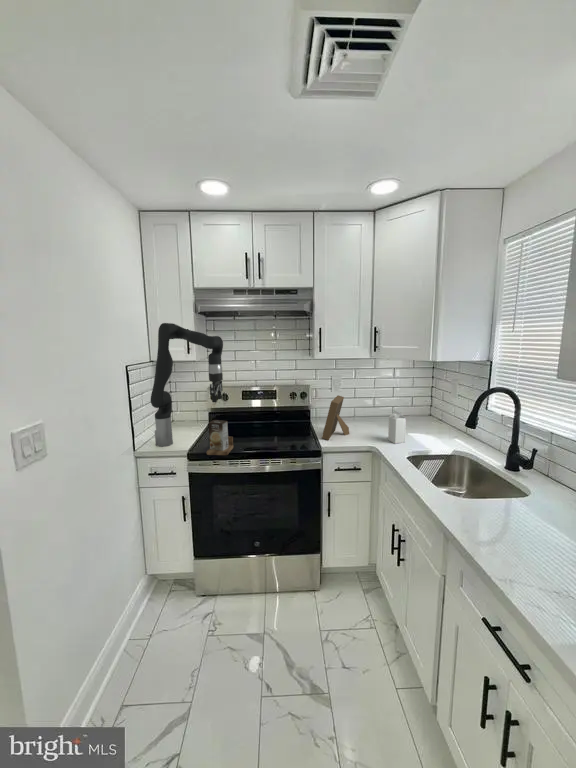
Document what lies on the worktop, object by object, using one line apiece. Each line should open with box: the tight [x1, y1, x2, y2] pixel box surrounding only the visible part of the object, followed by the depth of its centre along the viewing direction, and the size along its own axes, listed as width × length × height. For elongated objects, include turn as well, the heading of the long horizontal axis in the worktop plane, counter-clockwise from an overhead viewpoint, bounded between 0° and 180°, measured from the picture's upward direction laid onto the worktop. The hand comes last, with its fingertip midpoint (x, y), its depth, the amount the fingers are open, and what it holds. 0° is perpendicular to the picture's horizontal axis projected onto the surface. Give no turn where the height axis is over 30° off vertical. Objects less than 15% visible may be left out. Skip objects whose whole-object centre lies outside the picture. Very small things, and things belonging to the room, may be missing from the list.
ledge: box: [206, 436, 234, 456], centre depth 188 cm, size 12×12×7 cm
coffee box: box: [208, 419, 229, 451], centre depth 186 cm, size 9×6×16 cm
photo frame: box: [321, 395, 350, 441], centre depth 211 cm, size 15×22×25 cm
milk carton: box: [387, 409, 407, 445], centre depth 197 cm, size 7×7×19 cm
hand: (217, 400), depth 183 cm, fingers open, 8 cm apart
